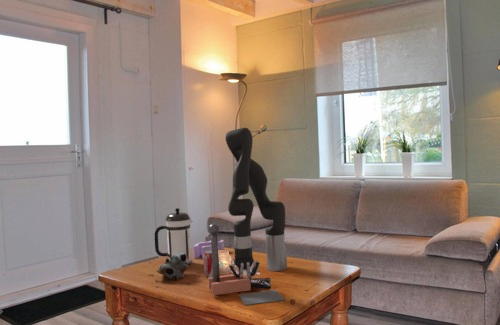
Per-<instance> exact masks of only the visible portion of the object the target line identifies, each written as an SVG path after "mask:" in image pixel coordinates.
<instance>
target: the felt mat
mask: <svg viewBox="0 0 500 325" xmlns="http://www.w3.org/2000/svg"><path fill="white" fill-rule="evenodd" d="M238 297H239V299H240V300H241V301H242V303H243V304H244V306H246V307H247V306H253V305H260V304H268V303H274V302H275V303H276V302H283V301H285V300H286V299H285V298H284V296H282V295H281V293H280V292H279V291H278V290H277V289H273V290H272V289H271V290H265V291H256V292H248V293H241V294H238Z"/></svg>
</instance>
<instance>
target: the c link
mask: <svg viewBox="0 0 500 325" xmlns="http://www.w3.org/2000/svg"><path fill="white" fill-rule="evenodd" d="M219 276H220V282H214V283H213V277H207V279H208V289H209V290H211V296H220V295H226V294H232V293H242V292H246V291H252V289H251V288H252V287H251V285H252V283H251V284H250V279H249V277H248V276H247V273H245V272H243V279H239V278H236V277H235V276H234V274H233V273H232V274H225V275H219ZM219 294H220V295H219Z"/></svg>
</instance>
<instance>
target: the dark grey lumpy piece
mask: <svg viewBox="0 0 500 325" xmlns="http://www.w3.org/2000/svg"><path fill="white" fill-rule="evenodd" d="M189 262H190V261H189V258H188V254H187V255H186V254H183V253H177V254H175V255H173V256H172V258H171V261H170V260H169V258H168V257H166V259H165V262H164V263H161V265H160V266H159V268H158V269H157V270H156V272H157V273H158V274H160V275H162V276H165V277H167V278H168V279H171V280H173V279H174V280H175V281H178V280H180V279H182V278H184V275H185V274H184V273H185V271H186V270H187V269H188V267H189V266H188V263H189Z"/></svg>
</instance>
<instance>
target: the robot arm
mask: <svg viewBox="0 0 500 325" xmlns="http://www.w3.org/2000/svg"><path fill="white" fill-rule="evenodd" d="M253 140H254V139H253V134H252V131H251V130H250V129H249V128H248V127H242V128H238V129H232V130H230V131H227V132H226V133H225V142H226V145H227V147H228V150H229V151H230V153H231V154H232V155H233V157H234V159H235V160H236V162H237V164H236V165H235V168H234V170H233V173H232V191H231V196H230V199H229V203H228V206H227V207H228V208H227V209H228V213H229V214H230V215H231V216H232V217H238V216H239V217H241V216H242V217H243V216H245V218H243V219H241V220H238V221H235V222H234V223H233V234H234V235H233V236H234V237H233V238H234V239H233V247H234V260H233V262H232V263H230V264H228V267H229V269H230V271H231V273H232V274H234V276H235V277H236V278H239V279H243V273H244V271H245V272H246V275H247V276H248V277H249V279H250V284H251V285H252V277H253V276H255V275H256V273H257V271H258V269H259V267H260V262H259V261H258V260H255V259H254V256H253V240H252V231H251V222H252V216H253V213H254V212H253V211H254V206H255V205H254V202H253V200H252V199H250V198H239V197H241V196H245V195H247V194H249V191H250V190H251V192H252V194H253V196H254V198H255V201H256V203H257V206H258V210H259V212H260V214H261V216H262V218H263V219H265V220H268V221H272V225H271V226H267V227H266V228H265V251H266V252H265V253H266V266H267V267H266V270H268V271H271V272H280V271H284V270H287V269H288V260H287V259H288V258H287V257H288V256H287V249H286V244H285V243H286V242H285V229H286V208H285V205H284V203H283V202H282V201H271V200H270V199H269V197H268V195H267V193H266V192H267V186H268V178H267V177H268V176H267V175H266V172H265V171H264V169H263V166H261V165H260V164H259V163H258V162H257V161H255V160H254V159H252V158H251V157H252V149H253ZM252 266H253V267H252ZM236 267H237V269H238V270H237V271H238V273H237V272H236V270H235V269H236ZM251 268H252V269H251Z"/></svg>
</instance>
